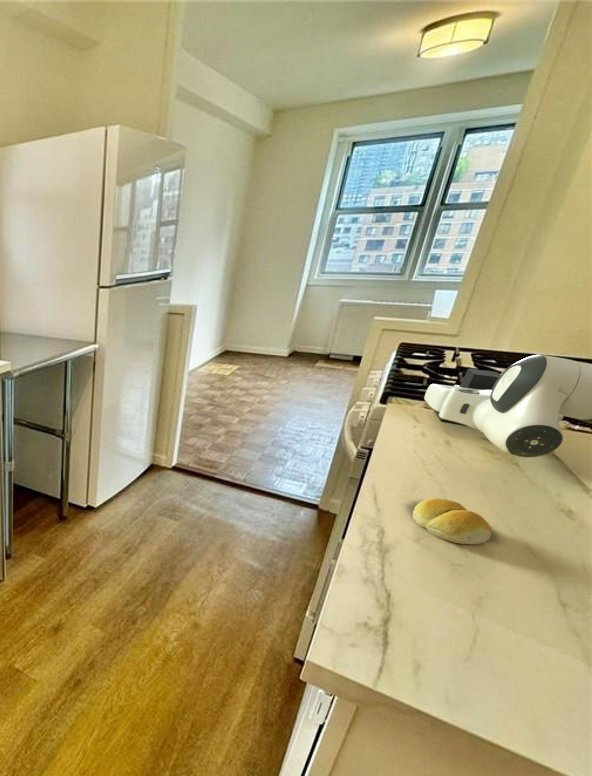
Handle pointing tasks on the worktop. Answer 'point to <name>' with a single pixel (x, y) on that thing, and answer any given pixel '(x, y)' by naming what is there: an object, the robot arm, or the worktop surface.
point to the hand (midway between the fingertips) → (474, 390)
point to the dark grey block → (479, 379)
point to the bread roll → (451, 521)
